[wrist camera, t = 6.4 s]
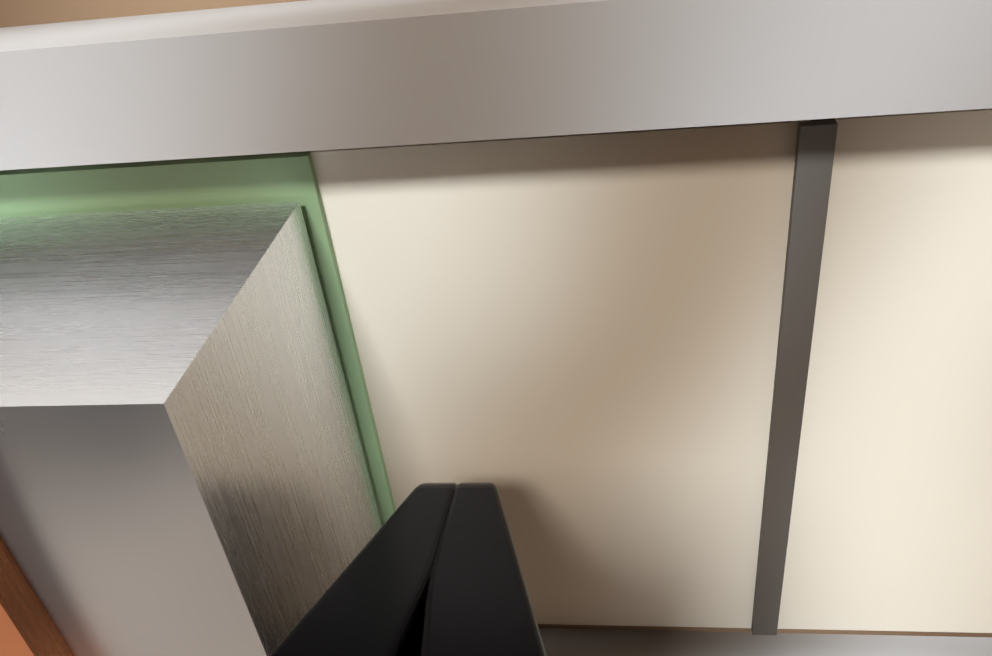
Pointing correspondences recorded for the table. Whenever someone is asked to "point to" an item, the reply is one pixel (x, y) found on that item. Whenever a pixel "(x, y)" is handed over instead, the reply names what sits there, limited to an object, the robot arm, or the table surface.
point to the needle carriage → (170, 434)
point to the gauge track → (604, 277)
